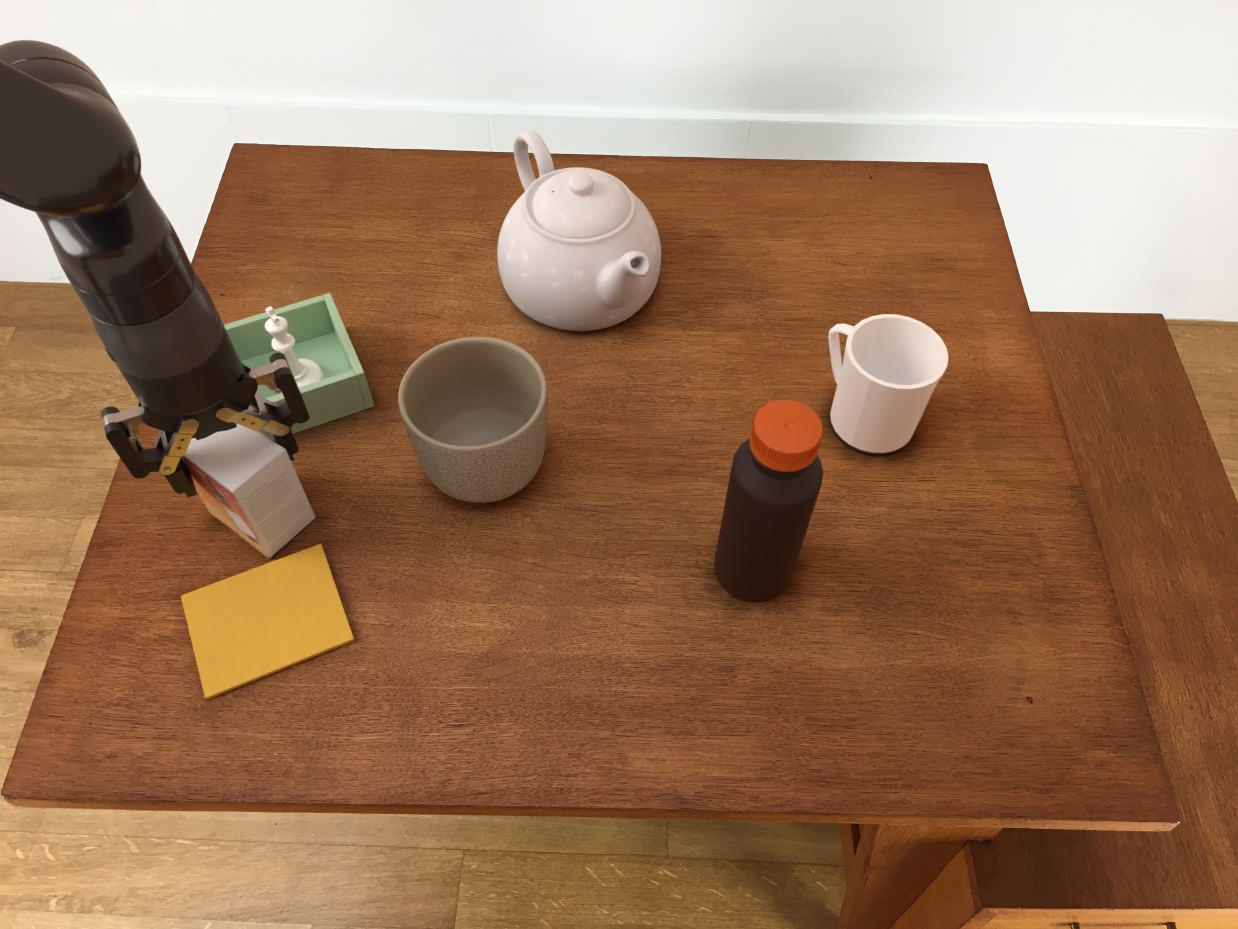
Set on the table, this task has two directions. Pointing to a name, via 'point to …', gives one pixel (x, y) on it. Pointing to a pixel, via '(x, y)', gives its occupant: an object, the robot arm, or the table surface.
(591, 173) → the teapot
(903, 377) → the mug
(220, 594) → the ochre mat
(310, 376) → the chess piece
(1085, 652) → the table surface
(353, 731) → the table surface
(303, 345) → the sage bin
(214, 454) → the small box
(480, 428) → the planter
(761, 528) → the bottle
